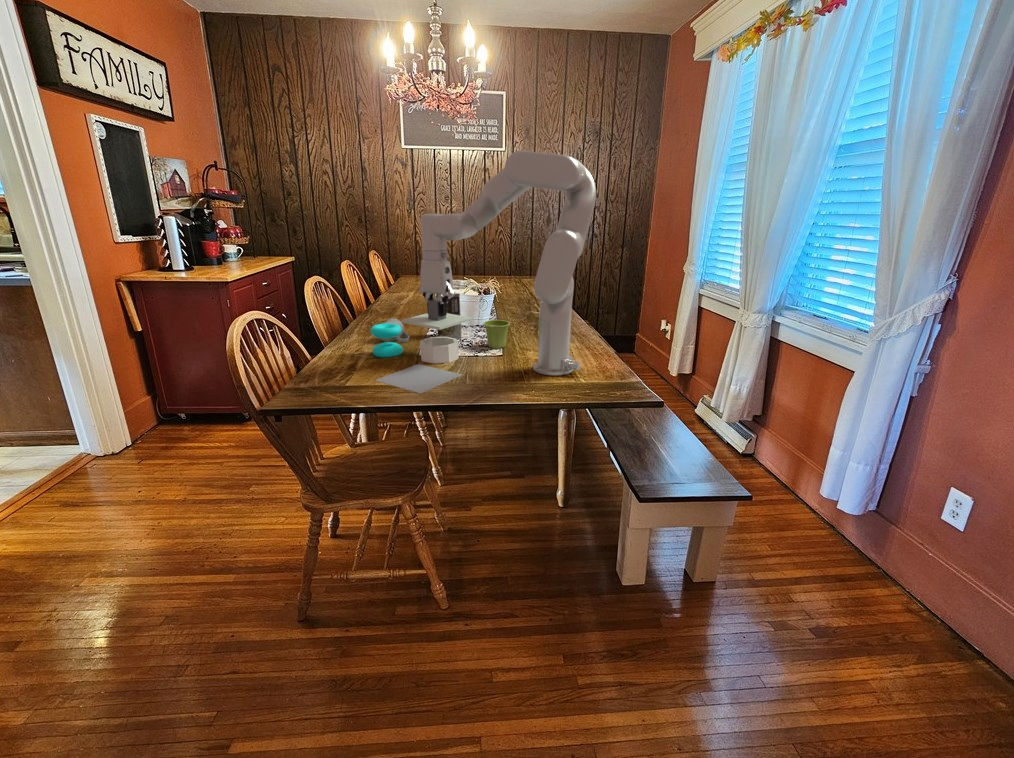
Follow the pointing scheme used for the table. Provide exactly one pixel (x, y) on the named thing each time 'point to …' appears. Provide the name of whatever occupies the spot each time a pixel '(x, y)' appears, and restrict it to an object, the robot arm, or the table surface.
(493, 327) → the plant pot
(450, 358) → the bowl
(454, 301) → the coffee box
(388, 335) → the donuts
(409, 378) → the mat
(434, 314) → the lid
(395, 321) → the ceramic mug
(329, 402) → the table surface
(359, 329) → the table surface
